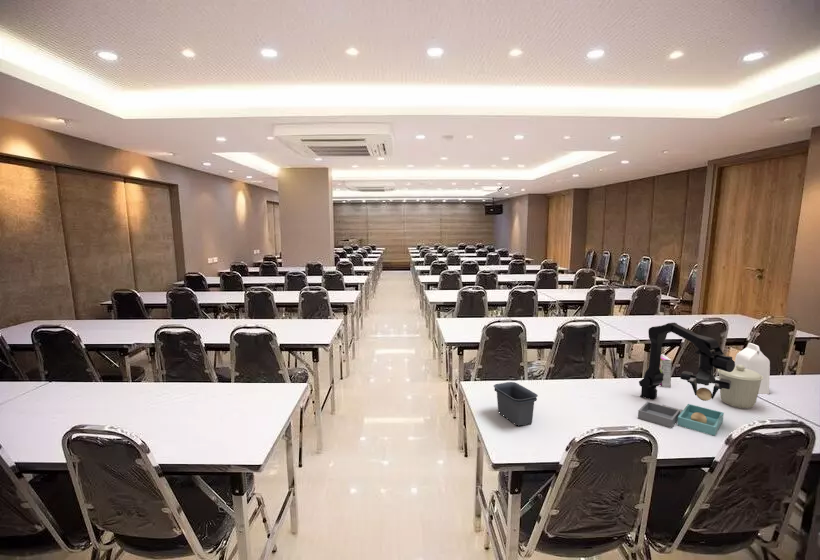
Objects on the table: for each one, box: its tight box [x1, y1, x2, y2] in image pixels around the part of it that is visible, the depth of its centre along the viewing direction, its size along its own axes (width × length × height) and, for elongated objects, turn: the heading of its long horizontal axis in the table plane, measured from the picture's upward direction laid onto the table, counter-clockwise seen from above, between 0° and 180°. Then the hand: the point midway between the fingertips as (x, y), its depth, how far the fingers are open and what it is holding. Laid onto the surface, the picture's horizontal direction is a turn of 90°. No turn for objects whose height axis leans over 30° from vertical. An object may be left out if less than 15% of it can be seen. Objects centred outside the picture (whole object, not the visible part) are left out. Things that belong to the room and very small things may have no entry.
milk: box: [734, 342, 771, 395], centre depth 222 cm, size 12×12×26 cm
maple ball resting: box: [691, 412, 707, 424], centre depth 182 cm, size 6×6×6 cm
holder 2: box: [676, 403, 725, 437], centre depth 186 cm, size 14×20×4 cm
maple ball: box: [696, 387, 713, 402], centre depth 187 cm, size 6×6×6 cm
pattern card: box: [661, 404, 684, 414], centre depth 199 cm, size 9×6×1 cm, turn 44°
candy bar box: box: [659, 353, 673, 388], centre depth 232 cm, size 11×5×16 cm, turn 168°
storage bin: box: [493, 381, 539, 427], centre depth 193 cm, size 21×16×14 cm
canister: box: [717, 364, 763, 409], centre depth 204 cm, size 18×18×21 cm
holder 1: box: [637, 401, 680, 429], centre depth 191 cm, size 14×14×4 cm
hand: (703, 397), depth 188 cm, fingers closed on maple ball, 6 cm apart
